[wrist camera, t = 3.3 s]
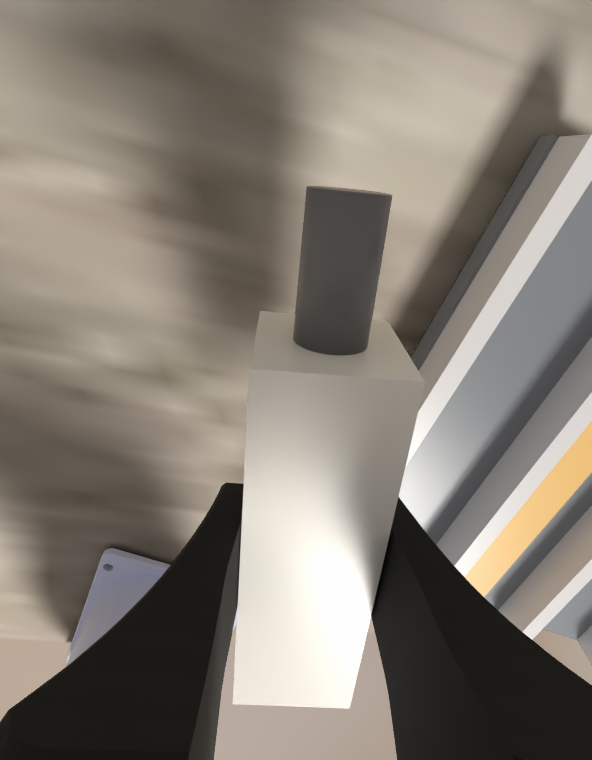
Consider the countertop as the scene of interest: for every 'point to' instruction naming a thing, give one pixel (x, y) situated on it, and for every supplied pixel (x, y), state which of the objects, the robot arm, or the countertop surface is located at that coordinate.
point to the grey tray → (516, 403)
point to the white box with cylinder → (321, 463)
